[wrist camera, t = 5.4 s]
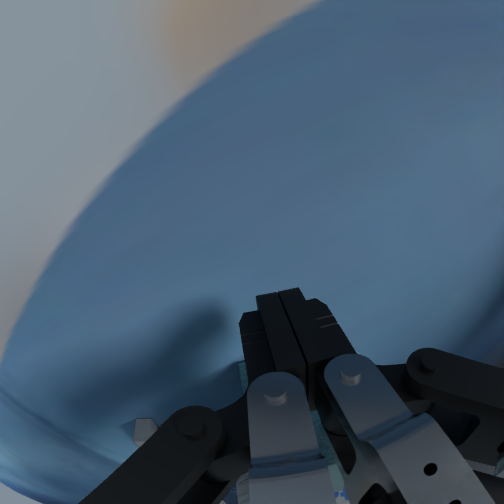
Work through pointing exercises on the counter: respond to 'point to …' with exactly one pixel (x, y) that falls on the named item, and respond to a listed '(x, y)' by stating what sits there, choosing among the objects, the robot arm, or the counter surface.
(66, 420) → the counter surface
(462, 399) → the robot arm
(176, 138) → the counter surface
